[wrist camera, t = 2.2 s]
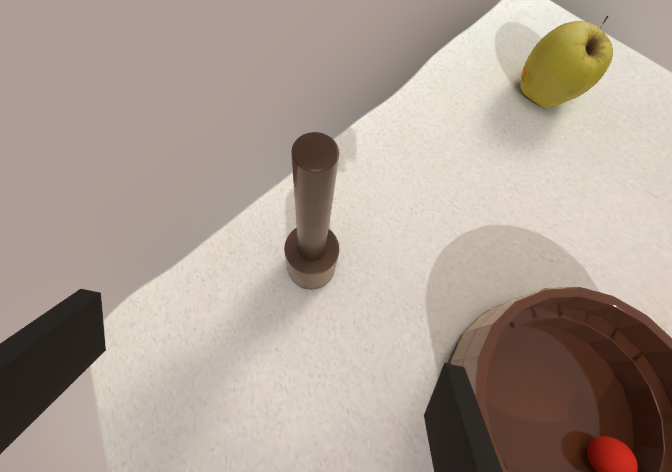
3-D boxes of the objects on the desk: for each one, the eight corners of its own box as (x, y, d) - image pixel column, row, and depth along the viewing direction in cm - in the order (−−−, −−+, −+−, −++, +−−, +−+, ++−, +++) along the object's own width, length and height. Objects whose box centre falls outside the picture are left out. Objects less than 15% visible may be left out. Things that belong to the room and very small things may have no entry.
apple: (502, 56, 44) (580, -20, 35) (549, 81, 46) (634, 16, 37) (505, 105, 41) (592, 36, 32) (555, 129, 43) (649, 70, 34)
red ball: (570, 452, 28) (599, 460, 25) (591, 424, 29) (622, 430, 26) (601, 486, 27) (635, 499, 24) (622, 457, 28) (656, 466, 25)
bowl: (401, 391, 29) (423, 394, 24) (528, 266, 34) (571, 244, 29) (569, 598, 25) (644, 662, 19) (686, 420, 30) (772, 430, 24)
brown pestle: (278, 262, 33) (247, 142, 16) (315, 235, 34) (323, 98, 17) (307, 299, 31) (306, 211, 15) (344, 270, 33) (382, 159, 16)
